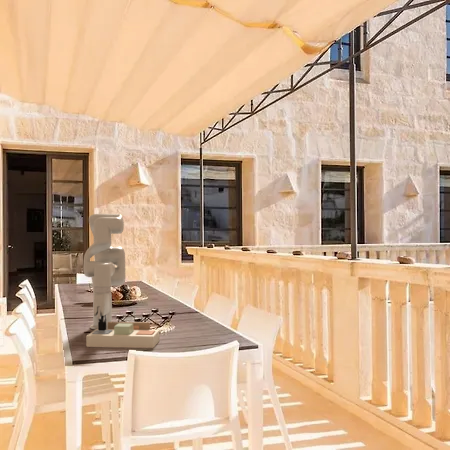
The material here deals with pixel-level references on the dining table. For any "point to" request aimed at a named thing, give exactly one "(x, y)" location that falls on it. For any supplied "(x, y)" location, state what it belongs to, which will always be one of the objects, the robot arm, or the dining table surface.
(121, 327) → the key sage
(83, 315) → the dining table surface
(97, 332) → the key slate
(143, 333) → the key terracotta
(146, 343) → the keypad
